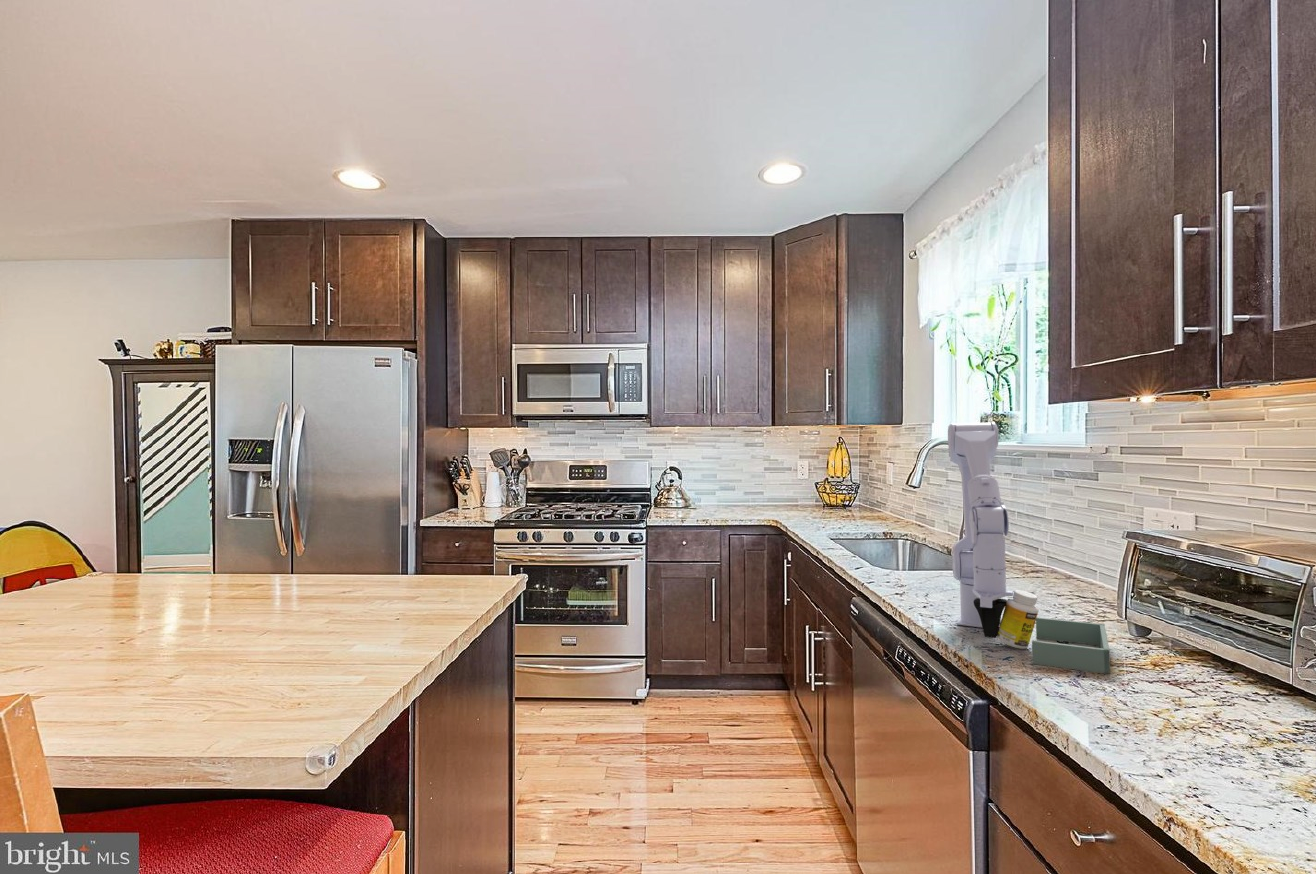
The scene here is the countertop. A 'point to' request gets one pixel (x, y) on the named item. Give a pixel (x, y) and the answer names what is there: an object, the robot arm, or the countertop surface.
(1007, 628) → the supplement bottle
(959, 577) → the robot arm
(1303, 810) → the countertop surface
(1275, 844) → the countertop surface
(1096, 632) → the u-shaped frame
